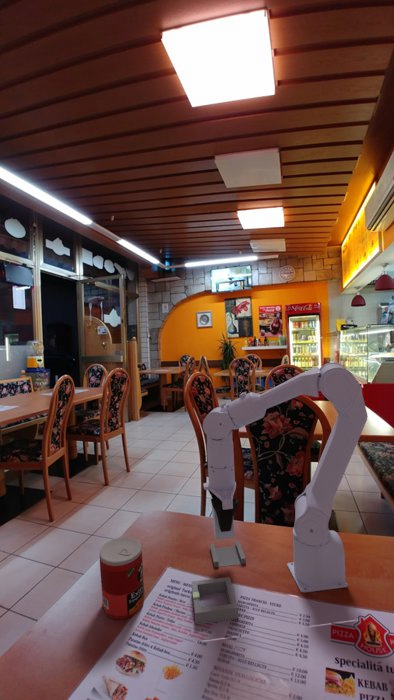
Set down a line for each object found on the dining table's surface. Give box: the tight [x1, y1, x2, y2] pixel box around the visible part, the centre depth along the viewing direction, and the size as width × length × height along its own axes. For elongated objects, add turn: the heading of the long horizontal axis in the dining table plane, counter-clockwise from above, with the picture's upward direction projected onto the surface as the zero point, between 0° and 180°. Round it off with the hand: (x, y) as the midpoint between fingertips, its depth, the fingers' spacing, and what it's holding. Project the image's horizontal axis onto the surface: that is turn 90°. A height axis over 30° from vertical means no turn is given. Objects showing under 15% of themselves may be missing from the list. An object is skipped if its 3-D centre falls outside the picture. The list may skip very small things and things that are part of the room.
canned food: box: [99, 536, 145, 620], centre depth 65 cm, size 8×8×11 cm
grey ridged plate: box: [209, 540, 247, 568], centre depth 77 cm, size 7×6×1 cm
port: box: [191, 576, 239, 625], centre depth 64 cm, size 8×8×2 cm
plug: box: [211, 505, 235, 540], centre depth 74 cm, size 4×4×7 cm
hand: (223, 524), depth 74 cm, fingers closed on plug, 4 cm apart
